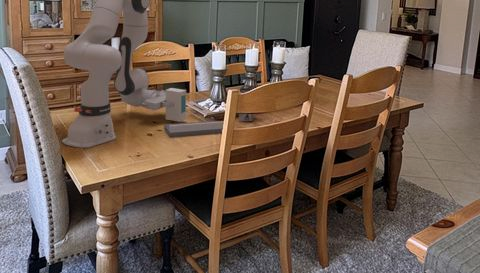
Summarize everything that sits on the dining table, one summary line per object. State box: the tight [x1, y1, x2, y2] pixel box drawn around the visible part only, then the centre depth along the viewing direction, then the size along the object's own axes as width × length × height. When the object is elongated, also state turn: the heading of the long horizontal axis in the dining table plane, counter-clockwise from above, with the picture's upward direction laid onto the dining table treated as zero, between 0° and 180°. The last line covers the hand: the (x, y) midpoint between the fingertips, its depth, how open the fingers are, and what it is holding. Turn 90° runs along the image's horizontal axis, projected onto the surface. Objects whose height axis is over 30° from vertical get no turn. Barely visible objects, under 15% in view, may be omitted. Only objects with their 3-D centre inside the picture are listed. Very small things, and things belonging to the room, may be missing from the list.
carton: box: [164, 87, 187, 123], centre depth 231 cm, size 5×8×14 cm, turn 65°
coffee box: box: [238, 84, 257, 122], centre depth 239 cm, size 9×6×16 cm
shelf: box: [163, 120, 225, 138], centre depth 222 cm, size 25×12×5 cm, turn 110°
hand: (176, 103), depth 231 cm, fingers closed on carton, 5 cm apart
